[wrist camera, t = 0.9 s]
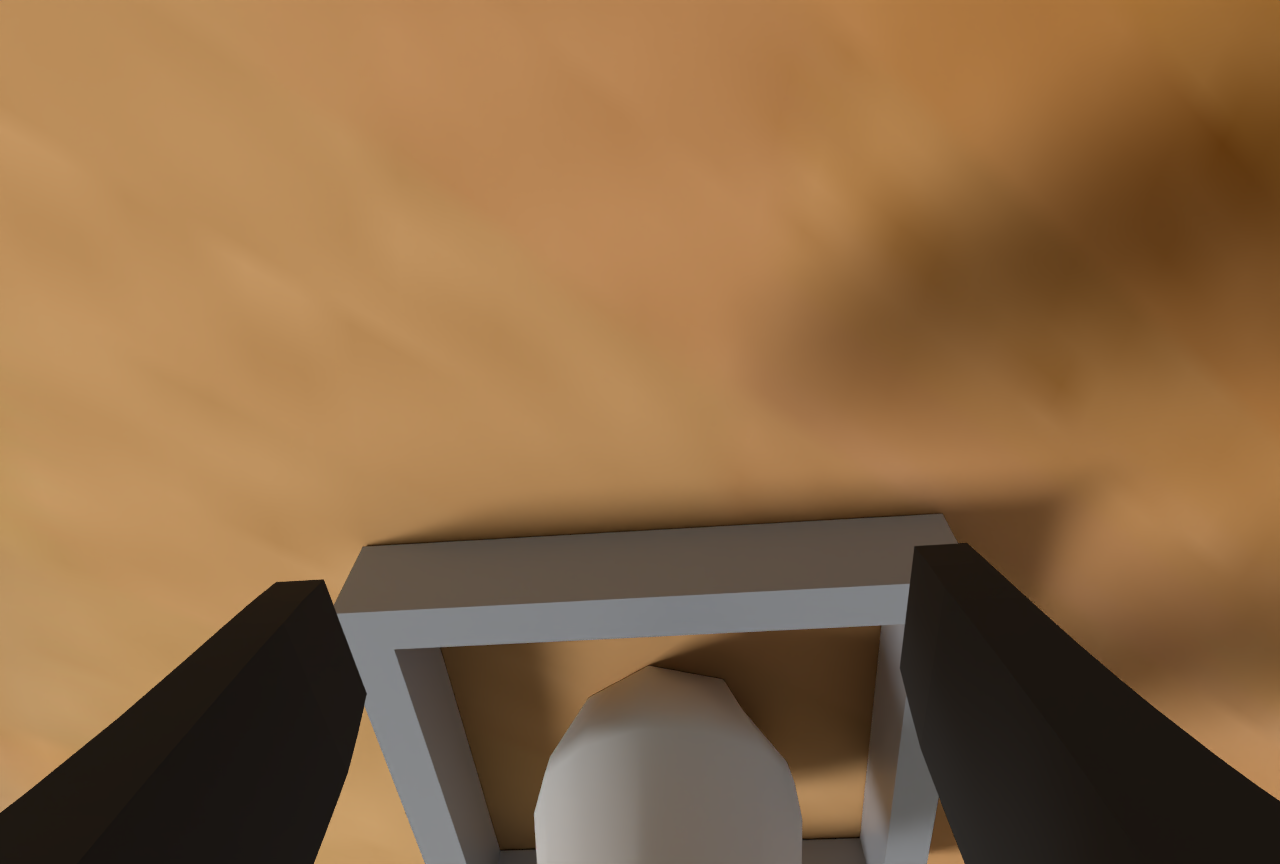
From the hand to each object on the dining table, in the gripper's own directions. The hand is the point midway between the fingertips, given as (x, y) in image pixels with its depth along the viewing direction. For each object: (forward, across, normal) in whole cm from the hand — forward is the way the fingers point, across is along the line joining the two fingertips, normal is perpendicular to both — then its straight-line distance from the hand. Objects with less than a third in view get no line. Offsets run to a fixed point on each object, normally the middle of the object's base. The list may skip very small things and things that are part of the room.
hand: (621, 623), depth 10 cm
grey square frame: (+6, 0, +9) cm, 11 cm away
